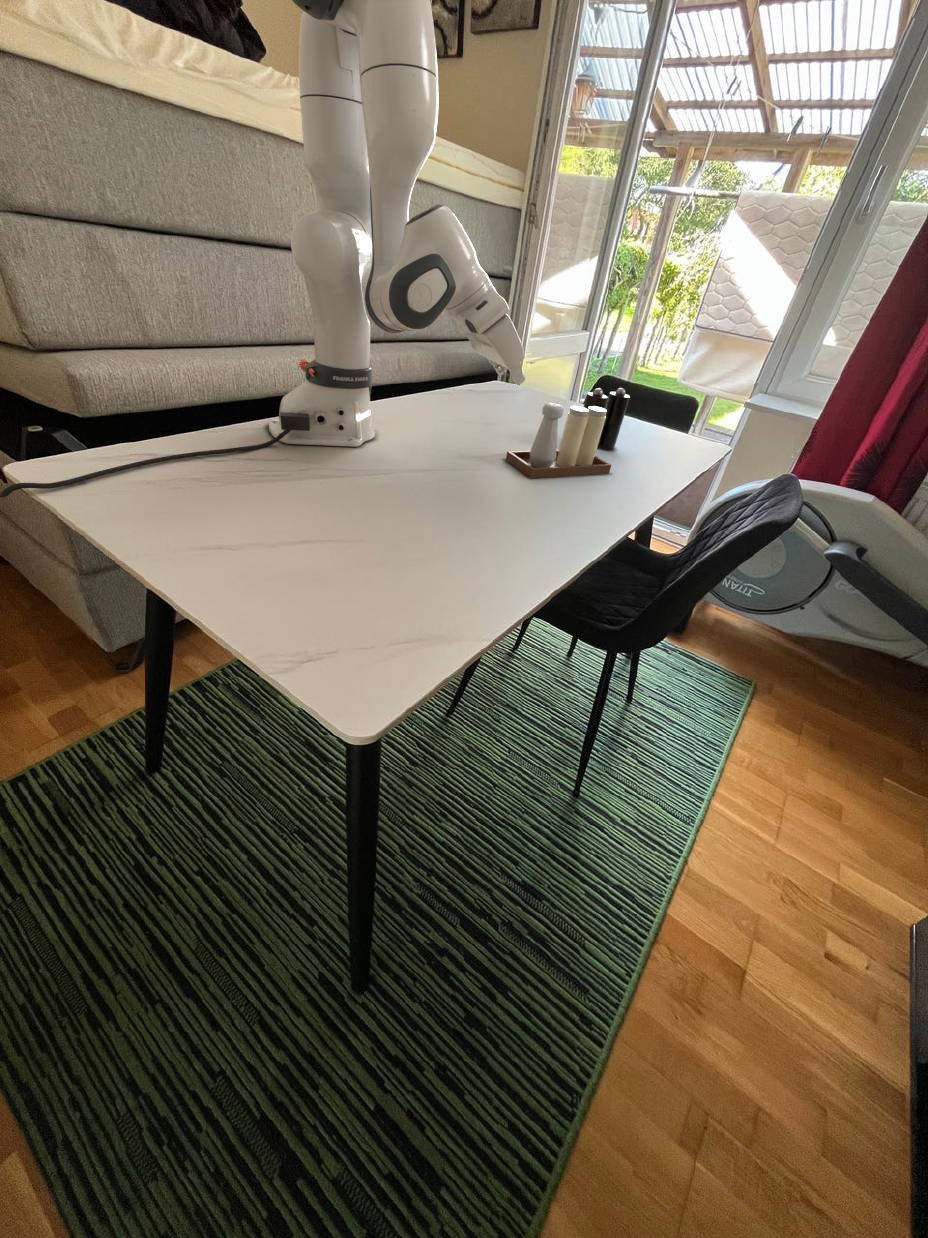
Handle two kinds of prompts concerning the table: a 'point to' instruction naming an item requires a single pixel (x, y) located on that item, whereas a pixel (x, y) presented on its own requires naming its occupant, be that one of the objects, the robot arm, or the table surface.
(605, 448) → the pepper mill
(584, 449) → the cream shaker
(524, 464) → the walnut tray
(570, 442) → the cream shaker
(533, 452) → the salt shaker
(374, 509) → the table surface
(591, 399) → the pepper mill
